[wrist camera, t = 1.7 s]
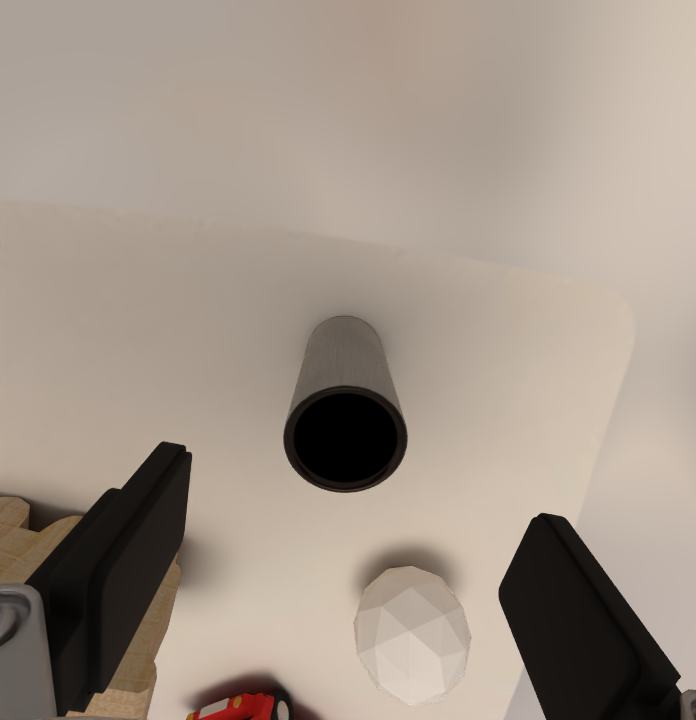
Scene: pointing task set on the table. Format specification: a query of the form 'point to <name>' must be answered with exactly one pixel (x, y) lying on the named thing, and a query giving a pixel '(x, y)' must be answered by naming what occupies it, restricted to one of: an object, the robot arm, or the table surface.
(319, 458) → the grey hollow cylinder
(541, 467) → the table surface
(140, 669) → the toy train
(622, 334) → the table surface
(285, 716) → the toy car
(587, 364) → the table surface
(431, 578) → the geometric ball
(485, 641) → the table surface
